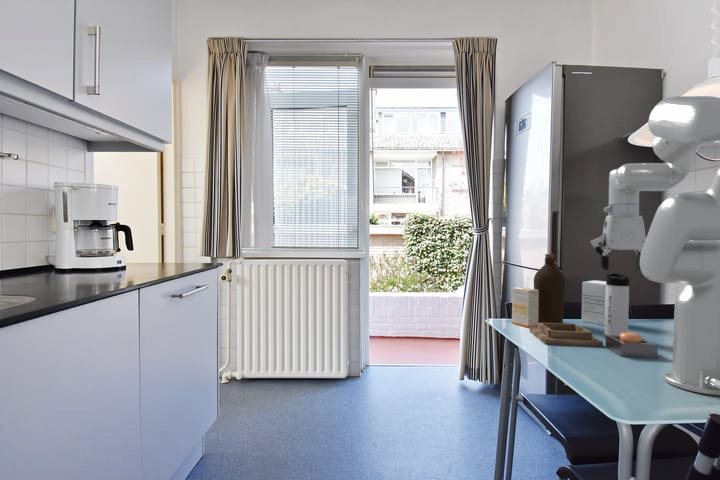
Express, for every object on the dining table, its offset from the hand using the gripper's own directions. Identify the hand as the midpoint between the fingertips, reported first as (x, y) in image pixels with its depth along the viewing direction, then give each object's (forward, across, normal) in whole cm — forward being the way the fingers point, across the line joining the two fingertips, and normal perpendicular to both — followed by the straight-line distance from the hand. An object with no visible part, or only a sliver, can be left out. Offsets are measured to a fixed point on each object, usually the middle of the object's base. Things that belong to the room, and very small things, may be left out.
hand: (622, 269), depth 123 cm
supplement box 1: (+22, -21, +24) cm, 39 cm away
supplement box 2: (+22, +8, +34) cm, 42 cm away
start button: (+20, -1, -7) cm, 21 cm away
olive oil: (+22, -11, +30) cm, 39 cm away
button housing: (+22, -1, -7) cm, 23 cm away
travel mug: (+22, +3, +10) cm, 25 cm away
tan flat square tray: (+22, -14, +6) cm, 27 cm away
